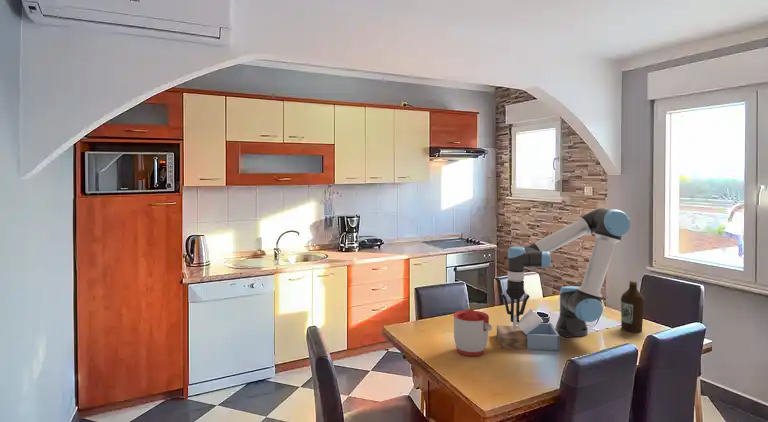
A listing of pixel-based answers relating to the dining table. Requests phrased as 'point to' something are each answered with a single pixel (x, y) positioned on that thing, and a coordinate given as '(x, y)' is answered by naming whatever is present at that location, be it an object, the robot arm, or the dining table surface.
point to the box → (543, 338)
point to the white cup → (529, 321)
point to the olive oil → (632, 309)
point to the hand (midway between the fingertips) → (514, 328)
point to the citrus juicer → (471, 332)
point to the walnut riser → (511, 338)
